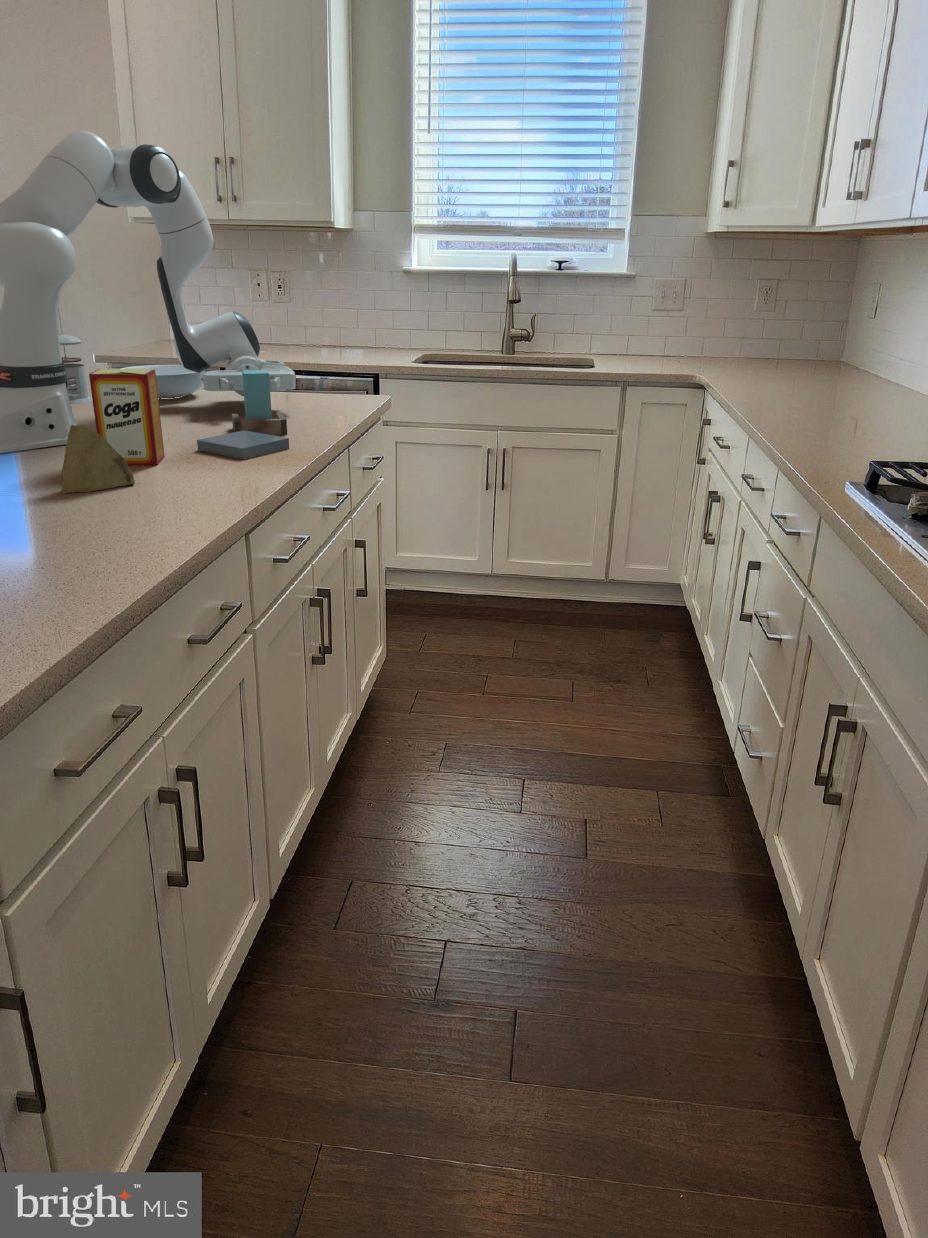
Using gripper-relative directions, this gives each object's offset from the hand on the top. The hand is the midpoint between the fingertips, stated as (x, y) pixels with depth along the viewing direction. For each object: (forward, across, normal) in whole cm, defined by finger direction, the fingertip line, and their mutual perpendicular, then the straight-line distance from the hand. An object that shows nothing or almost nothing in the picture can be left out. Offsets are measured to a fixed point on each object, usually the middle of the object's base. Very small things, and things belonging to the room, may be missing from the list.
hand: (252, 385), depth 197 cm
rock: (+54, -28, +8) cm, 62 cm away
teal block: (+12, 0, +8) cm, 14 cm away
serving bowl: (-36, -19, +8) cm, 41 cm away
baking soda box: (+36, -24, +8) cm, 44 cm away
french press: (-34, -41, +8) cm, 54 cm away
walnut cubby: (+12, 0, +8) cm, 14 cm away
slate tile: (+30, -4, +8) cm, 31 cm away
